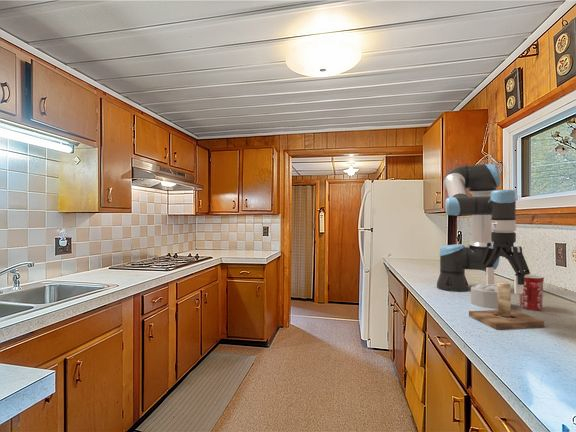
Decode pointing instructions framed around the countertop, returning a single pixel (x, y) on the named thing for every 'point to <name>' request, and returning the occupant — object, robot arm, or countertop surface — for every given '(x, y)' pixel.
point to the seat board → (499, 323)
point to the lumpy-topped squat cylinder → (484, 296)
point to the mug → (532, 292)
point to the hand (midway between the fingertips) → (503, 288)
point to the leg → (504, 300)
